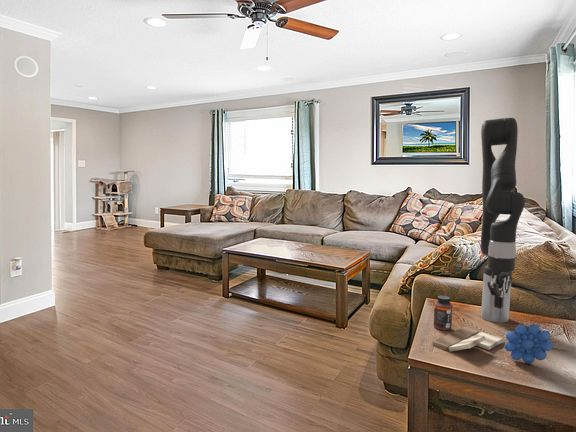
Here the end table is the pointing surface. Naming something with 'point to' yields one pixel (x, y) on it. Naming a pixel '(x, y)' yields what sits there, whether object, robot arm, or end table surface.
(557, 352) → the end table surface
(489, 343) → the plank
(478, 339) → the plank
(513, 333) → the grapes
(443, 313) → the supplement bottle
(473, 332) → the laid plank
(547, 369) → the end table surface
